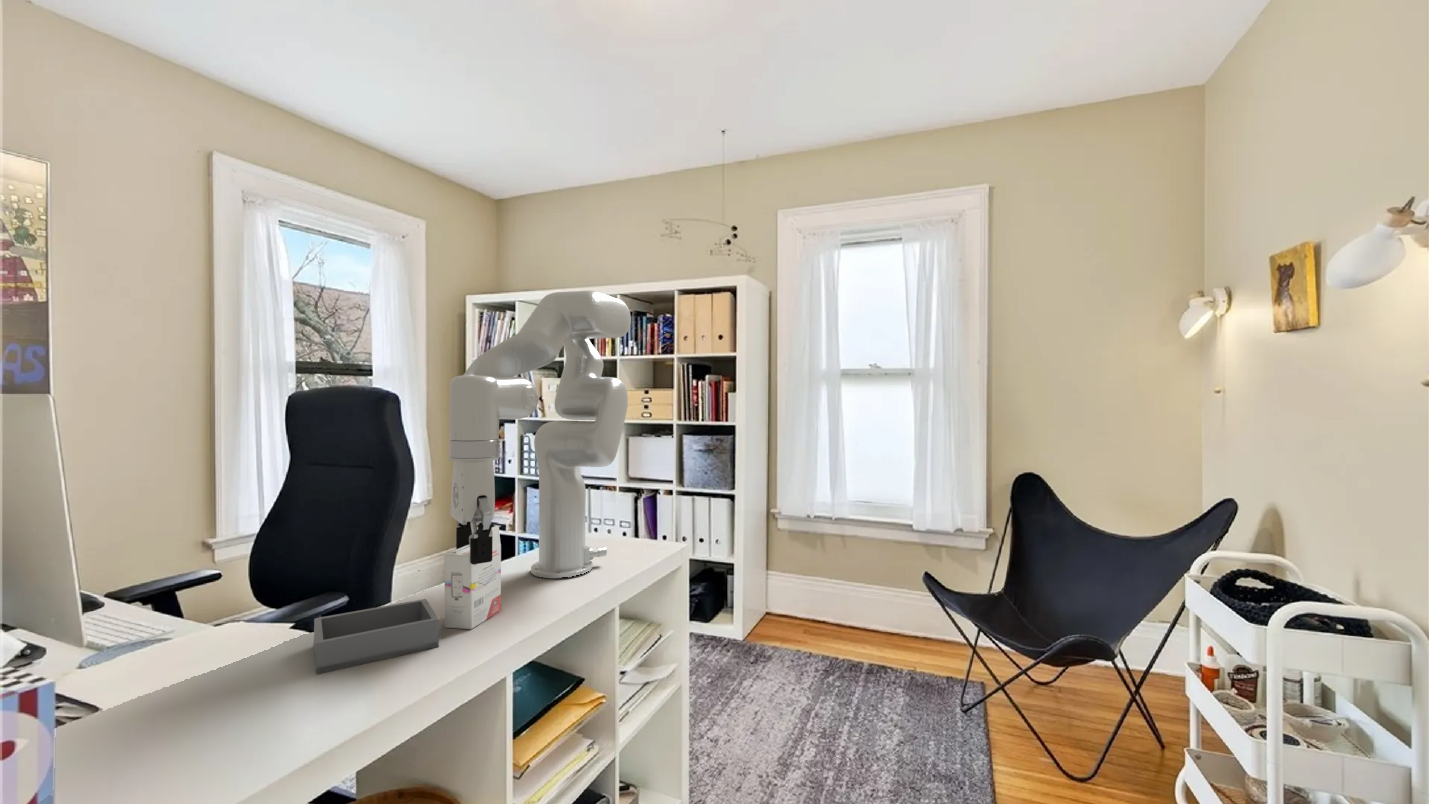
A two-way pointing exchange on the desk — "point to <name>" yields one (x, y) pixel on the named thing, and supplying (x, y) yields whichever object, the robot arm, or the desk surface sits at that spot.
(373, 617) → the box
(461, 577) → the ink cartridge box
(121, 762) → the desk surface
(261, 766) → the desk surface
